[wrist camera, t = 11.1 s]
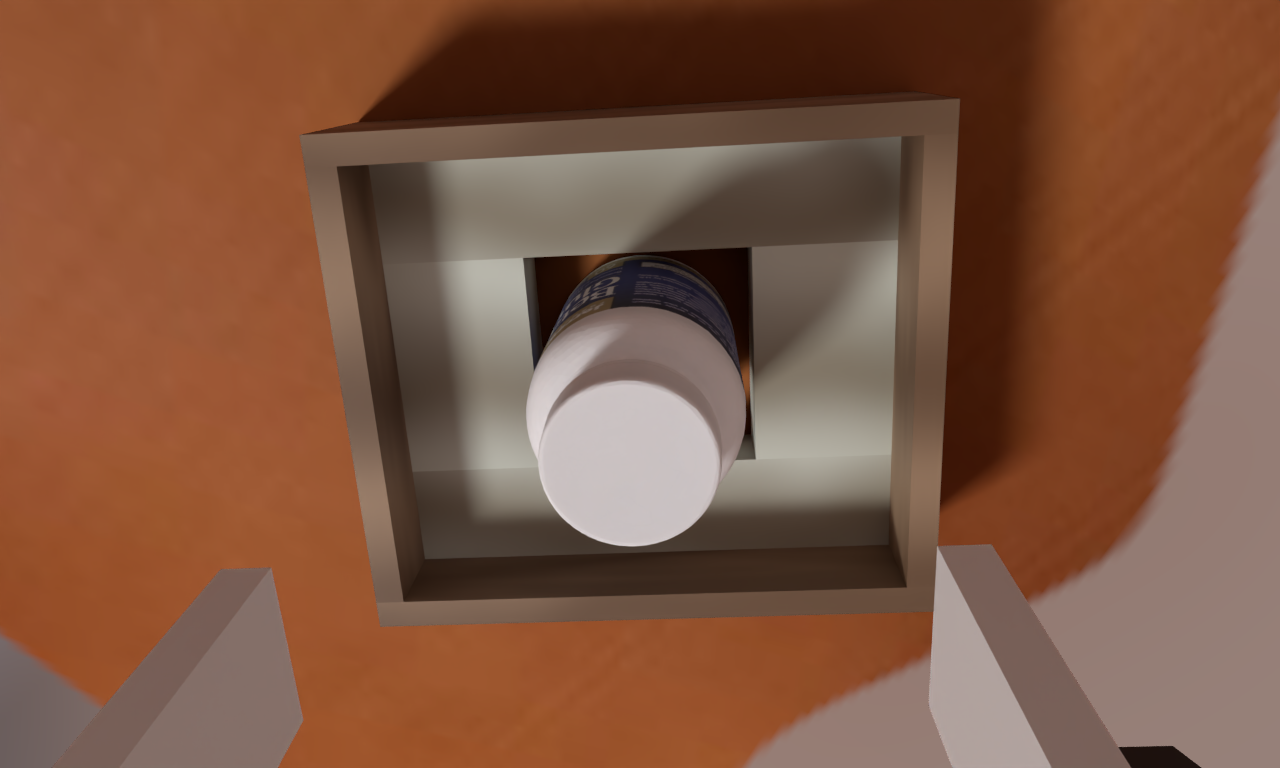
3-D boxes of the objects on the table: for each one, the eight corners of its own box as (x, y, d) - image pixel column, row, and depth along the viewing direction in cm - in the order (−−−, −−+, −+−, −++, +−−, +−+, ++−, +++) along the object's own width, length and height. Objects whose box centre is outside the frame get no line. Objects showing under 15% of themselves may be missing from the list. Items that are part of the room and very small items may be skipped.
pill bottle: (604, 219, 29) (570, 300, 19) (763, 299, 29) (804, 414, 20) (529, 373, 30) (465, 514, 21) (682, 446, 31) (684, 614, 22)
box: (357, 122, 28) (299, 135, 24) (915, 91, 27) (960, 98, 23) (419, 551, 32) (380, 626, 28) (899, 536, 32) (934, 611, 27)
